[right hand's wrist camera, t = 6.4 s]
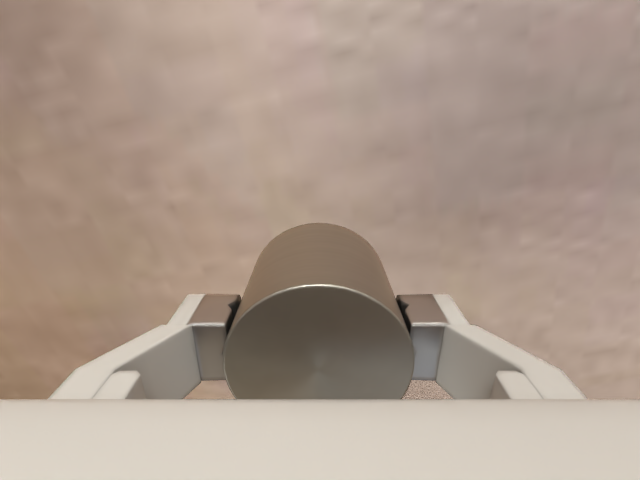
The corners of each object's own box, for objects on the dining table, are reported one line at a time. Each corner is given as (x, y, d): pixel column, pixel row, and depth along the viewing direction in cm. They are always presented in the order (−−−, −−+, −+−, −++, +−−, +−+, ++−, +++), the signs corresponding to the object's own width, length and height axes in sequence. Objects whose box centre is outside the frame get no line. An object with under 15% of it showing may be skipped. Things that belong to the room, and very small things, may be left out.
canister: (278, 201, 11) (256, 255, 7) (407, 250, 12) (451, 324, 8) (236, 315, 13) (200, 409, 9) (352, 353, 13) (366, 456, 9)
